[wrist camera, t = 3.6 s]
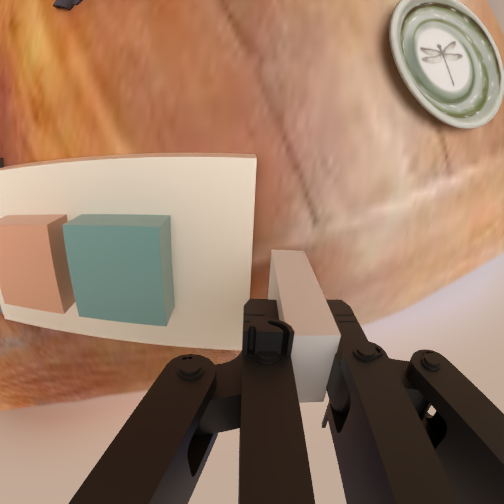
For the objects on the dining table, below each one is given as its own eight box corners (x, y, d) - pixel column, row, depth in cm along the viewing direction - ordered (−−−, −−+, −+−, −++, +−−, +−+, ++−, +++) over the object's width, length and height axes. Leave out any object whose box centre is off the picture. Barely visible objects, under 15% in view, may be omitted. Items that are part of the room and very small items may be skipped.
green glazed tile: (93, 298, 16) (78, 316, 14) (81, 214, 14) (62, 224, 13) (174, 305, 16) (166, 326, 14) (170, 215, 15) (159, 226, 13)
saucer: (424, 151, 17) (444, 155, 15) (346, 24, 15) (359, 11, 12) (502, 99, 16) (522, 99, 13) (440, -11, 13) (457, -21, 10)
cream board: (31, 294, 21) (4, 318, 17) (11, 165, 17) (-25, 174, 13) (247, 314, 21) (246, 350, 17) (255, 154, 17) (256, 158, 14)
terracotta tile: (21, 289, 16) (4, 303, 14) (6, 215, 14) (-14, 224, 12) (79, 297, 16) (64, 314, 14) (66, 214, 14) (46, 224, 13)
